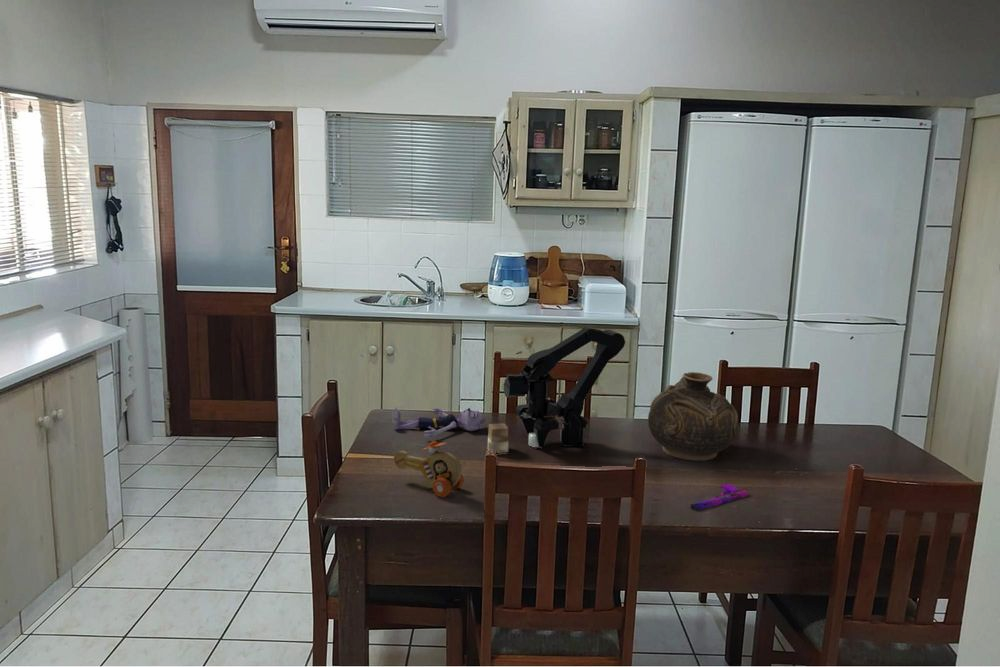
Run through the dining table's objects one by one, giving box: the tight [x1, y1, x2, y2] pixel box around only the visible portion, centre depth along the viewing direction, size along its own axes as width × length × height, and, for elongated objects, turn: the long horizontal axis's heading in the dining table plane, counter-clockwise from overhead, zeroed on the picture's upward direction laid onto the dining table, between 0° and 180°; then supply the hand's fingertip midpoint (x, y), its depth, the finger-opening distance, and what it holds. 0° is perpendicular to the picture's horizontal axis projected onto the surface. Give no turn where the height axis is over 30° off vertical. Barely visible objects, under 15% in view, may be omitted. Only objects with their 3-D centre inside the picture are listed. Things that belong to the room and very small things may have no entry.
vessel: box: [647, 371, 740, 462], centre depth 231 cm, size 27×28×25 cm
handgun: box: [690, 482, 749, 512], centre depth 199 cm, size 21×8×2 cm, turn 123°
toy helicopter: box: [393, 440, 464, 498], centre depth 200 cm, size 8×21×14 cm, turn 61°
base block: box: [487, 436, 509, 453], centre depth 229 cm, size 6×6×4 cm
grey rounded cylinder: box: [528, 431, 539, 447], centre depth 234 cm, size 4×4×4 cm
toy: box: [391, 406, 487, 439], centre depth 248 cm, size 26×9×30 cm
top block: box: [487, 423, 509, 442], centre depth 229 cm, size 5×5×4 cm
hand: (535, 443), depth 234 cm, fingers open, 7 cm apart
